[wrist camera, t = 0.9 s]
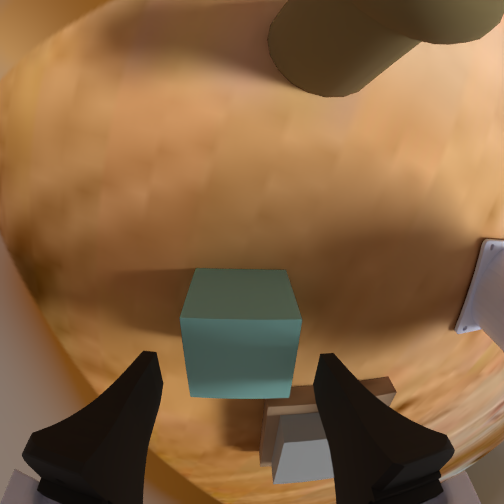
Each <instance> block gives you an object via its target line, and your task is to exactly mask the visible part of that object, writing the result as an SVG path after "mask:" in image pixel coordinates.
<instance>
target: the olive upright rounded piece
mask: <svg viewBox="0 0 504 504" xmlns="http://www.w3.org/2000/svg"><path fill="white" fill-rule="evenodd" d="M503 14H504V0H288V1H287V3H286V4H285V5H284V7H283V8H282V10H281V11H280V12H279V14H278V15H277V17H276V18H275V19H274V21H273V22H272V24H271V25H270V30H269V35H268V39H267V40H268V46H269V51H270V56H271V58H272V59H273V61H274V63H275V65H276V67H277V68H278V70H279V71H280V72H281V73H282V74H283V75H284V76H285V77H286V78H287V79H288V80H289V81H290V82H291V83H292V84H294V85H296V86H298V87H299V88H301V89H303V90H305V91H306V92H308V93H312V94H316V95H320V96H323V97H344V96H347V95H350V94H353V93H356V92H358V91H360V90H361V89H362V88H363V87H365V86H366V85H367V84H368V83H369V82H371V81H372V80H373V79H374V78H376V77H377V76H378V75H379V74H381V73H382V72H383V71H384V70H386V69H387V68H388V67H389V66H391V65H392V64H393V63H394V62H396V61H397V60H398V59H399V58H401V57H402V56H403V55H405V54H406V53H407V52H409V51H410V50H411V49H412V48H414V47H415V46H416V45H418V44H419V43H420V42H422V41H423V42H428V43H432V44H456V43H465V42H470V41H473V40H478V39H480V38H482V37H483V36H484V35H486V34H487V33H488V32H489V31H491V30H492V29H493V28H494V27H495V26H496V25H498V24H499V23H500V21H501V19H502V16H503Z"/></svg>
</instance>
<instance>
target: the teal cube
mask: <svg viewBox="0 0 504 504" xmlns="http://www.w3.org/2000/svg"><path fill="white" fill-rule="evenodd" d="M301 324H302V317H301V314H300V311H299V308H298V305H297V302H296V299H295V296H294V293H293V290H292V287H291V284H290V281H289V278H288V275H287V272H286V270H265V269H213V268H196V269H195V272H194V275H193V278H192V281H191V284H190V287H189V290H188V293H187V296H186V299H185V302H184V305H183V308H182V312H181V315H180V325H181V334H182V342H183V350H184V357H185V364H186V371H187V378H188V384H189V390H190V396H191V397H202V398H227V399H270V398H289V395H290V390H291V385H292V379H293V373H294V368H295V362H296V356H297V350H298V344H299V337H300V331H301Z"/></svg>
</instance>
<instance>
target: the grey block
mask: <svg viewBox="0 0 504 504" xmlns="http://www.w3.org/2000/svg"><path fill="white" fill-rule="evenodd" d="M271 464H272V476H273V484H284V483H296V482H306V481H314V480H322V479H328V478H334V474H333V467H332V461H331V455H330V449H329V445H328V441H327V438H326V435H325V431H324V428H323V425H322V422H321V418H320V415H319V412H318V413H307V414H293V415H280V420H279V426H278V431H277V436H276V441H275V446H274V451H273V456H272V461H271Z"/></svg>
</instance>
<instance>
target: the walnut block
mask: <svg viewBox="0 0 504 504" xmlns="http://www.w3.org/2000/svg"><path fill="white" fill-rule="evenodd" d="M360 382H361V383H362V384H363V385H364V386H365V387H366V388H367V389H368V390H369V391H370V392H371V393H372V394H373V395H375V396H376V397H377V398H378V399H379V400H381V401H382V402H383V403H385V404H386V405H387V406H390V404H391V402H392V400H393V398H394V396H395V394H396V390H395V388H394V386H393V384H392V383H391V381H390V379H389V377H383V378H376V379H369V380H362V381H360ZM307 413H318V409H317V405H316V400H315V394H314V388H313V385H312V386H296V387H291V390H290V395H289V398H270V399H265V402H264V412H263V421H262V430H261V439H260V448H259V456H260V467H263V466H272V464H271V461H272V456H273V451H274V446H275V441H276V436H277V431H278V426H279V420H280V415H293V414H307Z"/></svg>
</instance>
